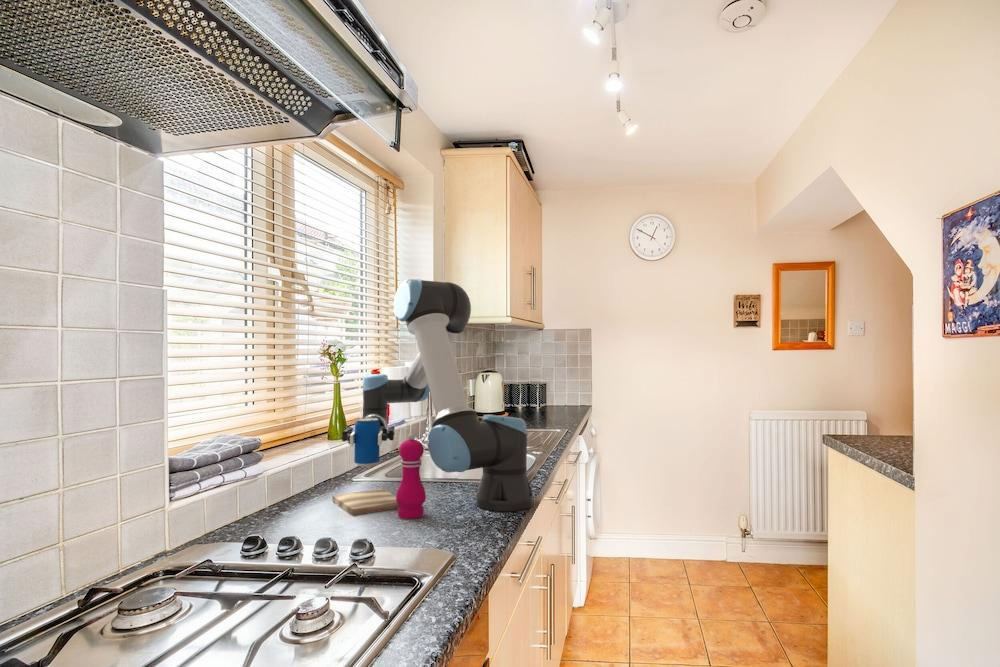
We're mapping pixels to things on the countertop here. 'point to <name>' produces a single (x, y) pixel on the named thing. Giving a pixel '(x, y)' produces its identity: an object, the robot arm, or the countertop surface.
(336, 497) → the wooden cutting board
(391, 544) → the countertop surface
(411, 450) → the pepper mill
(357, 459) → the beverage can
